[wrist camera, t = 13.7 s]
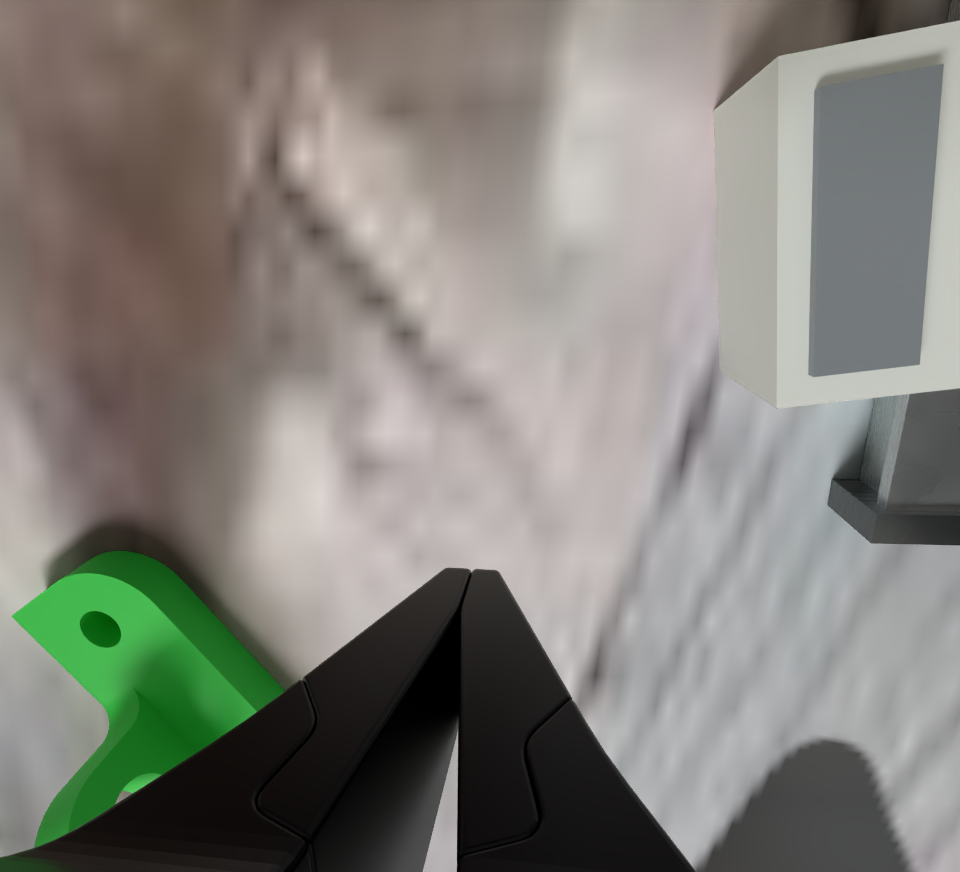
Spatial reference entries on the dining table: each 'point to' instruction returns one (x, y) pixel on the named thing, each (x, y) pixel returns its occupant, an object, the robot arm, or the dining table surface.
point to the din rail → (908, 466)
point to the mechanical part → (141, 675)
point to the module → (842, 221)
